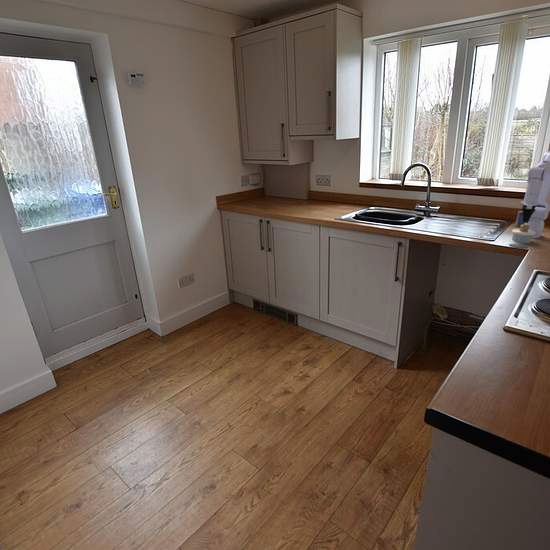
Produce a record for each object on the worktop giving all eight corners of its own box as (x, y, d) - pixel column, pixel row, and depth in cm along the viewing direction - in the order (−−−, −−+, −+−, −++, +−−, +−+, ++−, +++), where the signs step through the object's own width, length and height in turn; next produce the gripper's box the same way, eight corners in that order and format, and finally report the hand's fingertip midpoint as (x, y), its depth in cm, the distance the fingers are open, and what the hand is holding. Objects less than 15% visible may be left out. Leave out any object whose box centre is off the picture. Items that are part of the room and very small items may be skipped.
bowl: (517, 238, 191) (519, 229, 190) (533, 242, 185) (536, 233, 183) (508, 240, 188) (510, 232, 186) (525, 244, 181) (527, 235, 180)
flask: (514, 226, 213) (518, 208, 209) (515, 225, 215) (519, 207, 211) (533, 229, 208) (538, 210, 204) (534, 228, 210) (539, 209, 206)
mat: (513, 243, 183) (514, 242, 183) (531, 247, 177) (531, 246, 176) (504, 246, 179) (505, 245, 179) (522, 250, 173) (522, 249, 173)
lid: (518, 229, 191) (519, 221, 190) (539, 233, 183) (541, 226, 182) (507, 231, 186) (509, 224, 185) (528, 236, 178) (530, 228, 177)
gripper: (523, 190, 185) (516, 217, 190) (522, 194, 174) (515, 222, 179) (540, 192, 181) (532, 219, 186) (540, 195, 170) (532, 224, 175)
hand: (525, 221), depth 182 cm, fingers open, 7 cm apart
